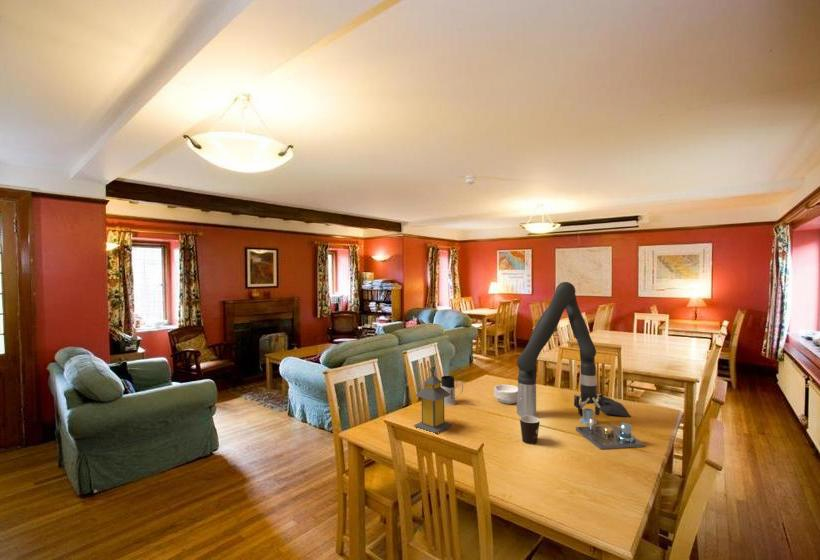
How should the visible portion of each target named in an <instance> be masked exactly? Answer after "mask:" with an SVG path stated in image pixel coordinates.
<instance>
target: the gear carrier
mask: <svg viewBox="0 0 820 560" xmlns="http://www.w3.org/2000/svg"><path fill="white" fill-rule="evenodd" d="M594 420H595V419H594V418H593V419H589V425H587V426H577V427H575V431H576V432H578V434H580V435H581V436H583V437H584V438H585V439H586V440H587V441H589V442H590V443H591V444H593V446H595V447H596V448H598V449H599V450H613V449H630V448H629V447H633V448H644V447H645V443H644V442H643V441H641V440H640V439H638V438H637V437H635V435H634V434H633V435H632V424H631V423H628V422H625V421H624V422H623V421H622V422H620V423H619V426H618V425H616V424H613V425H611V424H607V425H594ZM643 446H644V447H643Z"/></svg>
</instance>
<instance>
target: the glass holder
mask: <svg viewBox="0 0 820 560" xmlns="http://www.w3.org/2000/svg"><path fill="white" fill-rule="evenodd" d="M440 381H441V383H440V387H442V388H443V389H444V390H446V391H447V392H448V393H450V394H451V395H450V396H447V397H445V398H444V406H455V405H456V404H457V403H456V399H457V398H459V397H460V396H461V395H462V393H463V391H464V384H463V382H461V381H457V382H455V377H454V376H453V375H443V376H441V379H440ZM458 383H460V384H461V391H460V394H459V395H457V396H456V388H457V387H458ZM455 396H456V397H455Z"/></svg>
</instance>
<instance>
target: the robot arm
mask: <svg viewBox="0 0 820 560" xmlns="http://www.w3.org/2000/svg"><path fill="white" fill-rule="evenodd" d="M565 310H566V314H567V318H568V320H569V324H570V328H571V330H572V333H573V335H574V336H573V337H575V339H576V342H577V344H578V348H579V357H580V377H579V383H580V385H579V387H580V391H579V392H580V395H577V394H574V397H573V399H574V400H573V406H574V407H575V408H576V409H577V412H578V415H579V416H580V417H583V409H584V408H585V406H586V405H590V404H591V405H593V404H594V415H596V416H599V415H600V414H601V410H600V407H603V406H604V402H603V396H604V395H603V394H601V393H598V380H597V366H596V362H595V360H596V359H595V358H596V354H597V349H596V346H595V344H594V342H593V339H592V338H591V335H590V331H589V328H588V326H587V323H586V322H585V318H584V317H583V314H582V311H581V310H580V307H579V303H578V300H577V297H576V288H575V285H574V284H572V283H571V282H568V281H562V282H560V283H559V284H558V285H557V286H556V288H555V291H554V294H553V296H552V299H551V301H550V303H549V305H548V307H546V308H545V310H544V312H543V313H542V315H540V318H539V319H538V321H537V323H536V325H535V326H534V327H533V331H532V333H531V335H530V337H529V340H528V342H527V344H526V346H525V348H524V349H523V351H522V352H521V353H520V354H519V356H518V357H517V359H516V360H517V361H516V366H517V368H518V376H517V387H518V395H517V401H516V413H517V414H518V416H519V417H521V416H534V417H537V375H538V372H537V371H538V369H537V368H538V367H537V366H538V364H537V363H538V358H539V355H540V354H541V352H542V350H543V349H544V347H545V346H546V345H547V343H549V341H550V339H551V338H552V336H553V335H554V333H555V331H556V329H557V327H558V325H559V323H560V320H561V318H562V316H563V313H564V311H565ZM597 400H598V401H599V404H598V401H597Z"/></svg>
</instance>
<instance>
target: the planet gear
mask: <svg viewBox="0 0 820 560" xmlns="http://www.w3.org/2000/svg"><path fill="white" fill-rule="evenodd" d="M582 409H583V416H582V417H581V418H579V421H580V424H583V425H585V426H589V419H594V409H593V408H589V407H583V408H582ZM595 424H596V425H595ZM597 424H598V421H597V419H594V426H598V425H597Z"/></svg>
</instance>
